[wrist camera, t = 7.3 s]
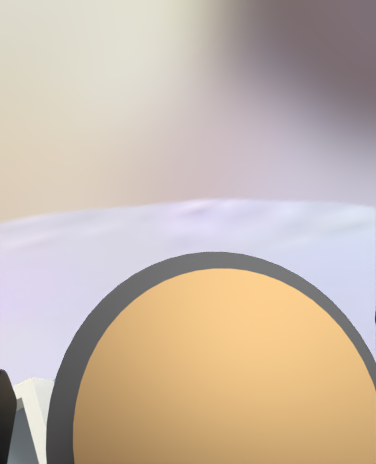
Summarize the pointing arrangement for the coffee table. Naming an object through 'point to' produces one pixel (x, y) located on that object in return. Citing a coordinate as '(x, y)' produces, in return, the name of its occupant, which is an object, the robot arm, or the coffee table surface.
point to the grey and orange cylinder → (214, 372)
